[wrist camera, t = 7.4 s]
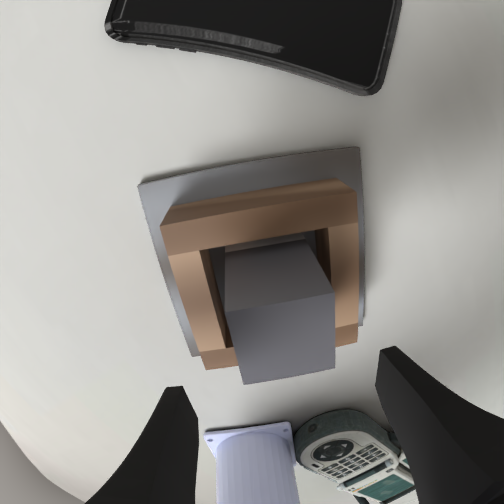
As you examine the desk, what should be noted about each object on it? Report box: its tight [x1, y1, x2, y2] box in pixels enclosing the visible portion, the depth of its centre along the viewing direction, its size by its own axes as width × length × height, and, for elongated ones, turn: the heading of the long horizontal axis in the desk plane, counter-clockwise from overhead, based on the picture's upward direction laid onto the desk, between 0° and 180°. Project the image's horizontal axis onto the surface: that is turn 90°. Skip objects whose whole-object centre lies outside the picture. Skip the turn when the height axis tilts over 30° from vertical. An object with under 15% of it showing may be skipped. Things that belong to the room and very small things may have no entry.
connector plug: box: [225, 232, 335, 385], centre depth 15 cm, size 4×4×7 cm
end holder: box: [137, 147, 364, 370], centre depth 17 cm, size 12×12×4 cm
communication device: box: [293, 409, 415, 504], centre depth 27 cm, size 12×24×9 cm, turn 41°
